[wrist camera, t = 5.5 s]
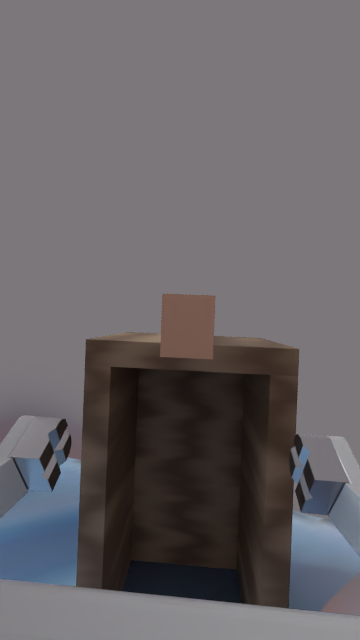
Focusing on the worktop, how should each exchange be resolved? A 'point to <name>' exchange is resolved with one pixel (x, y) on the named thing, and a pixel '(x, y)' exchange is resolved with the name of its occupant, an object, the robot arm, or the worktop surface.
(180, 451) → the shelf
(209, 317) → the bar
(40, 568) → the worktop surface
